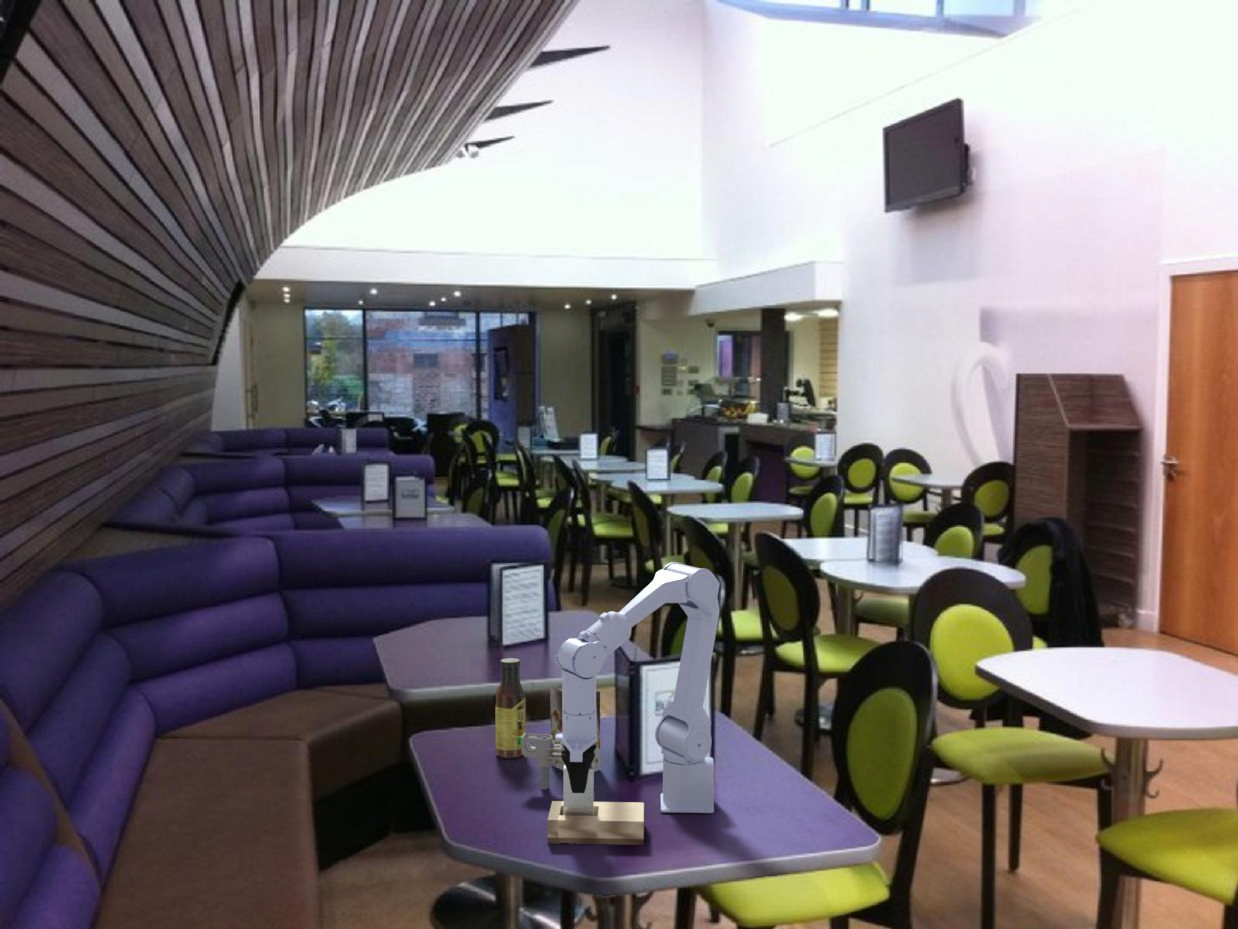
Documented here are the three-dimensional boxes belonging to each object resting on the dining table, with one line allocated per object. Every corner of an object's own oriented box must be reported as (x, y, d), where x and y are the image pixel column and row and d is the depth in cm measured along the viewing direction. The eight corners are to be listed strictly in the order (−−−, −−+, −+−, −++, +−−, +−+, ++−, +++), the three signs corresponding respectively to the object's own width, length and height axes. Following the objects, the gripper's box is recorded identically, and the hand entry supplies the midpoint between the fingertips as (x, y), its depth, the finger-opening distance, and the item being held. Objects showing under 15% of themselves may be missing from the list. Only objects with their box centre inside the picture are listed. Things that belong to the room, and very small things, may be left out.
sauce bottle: (523, 760, 211) (523, 664, 210) (493, 760, 211) (493, 664, 210) (527, 749, 218) (527, 656, 216) (497, 749, 218) (497, 656, 216)
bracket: (593, 814, 177) (593, 763, 176) (593, 821, 174) (592, 768, 174) (564, 814, 177) (564, 763, 176) (563, 820, 175) (563, 768, 174)
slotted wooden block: (643, 825, 180) (643, 802, 179) (643, 845, 172) (643, 821, 171) (552, 823, 180) (552, 801, 180) (547, 843, 172) (547, 820, 172)
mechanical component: (568, 793, 194) (568, 741, 193) (516, 789, 196) (516, 737, 195) (572, 787, 197) (572, 736, 196) (521, 783, 199) (521, 732, 198)
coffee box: (602, 770, 206) (602, 691, 204) (576, 778, 201) (576, 697, 200) (573, 758, 213) (573, 681, 211) (548, 765, 208) (548, 687, 207)
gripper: (559, 697, 182) (559, 772, 183) (551, 723, 167) (551, 805, 168) (599, 698, 182) (599, 773, 183) (594, 724, 167) (594, 806, 168)
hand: (579, 788), depth 175 cm, fingers closed on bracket, 2 cm apart
